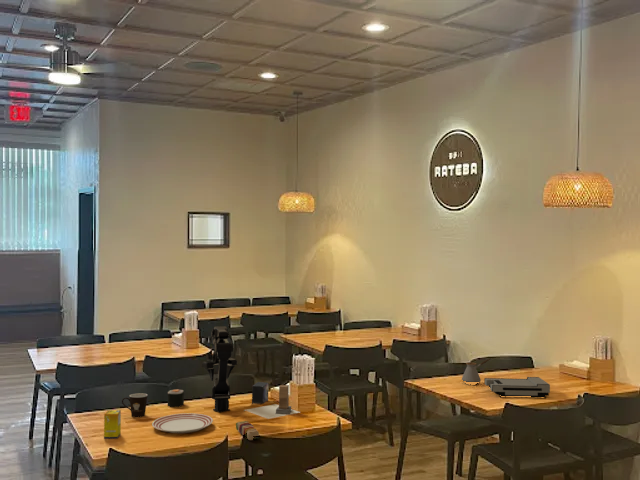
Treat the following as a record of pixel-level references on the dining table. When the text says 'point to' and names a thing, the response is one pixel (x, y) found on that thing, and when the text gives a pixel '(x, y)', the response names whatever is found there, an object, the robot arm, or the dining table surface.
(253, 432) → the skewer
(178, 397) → the sushi
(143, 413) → the coffee mug
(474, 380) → the coffee pot
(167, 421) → the dinner plate
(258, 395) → the small box
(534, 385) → the game console
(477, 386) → the dining table surface
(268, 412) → the board
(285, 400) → the block
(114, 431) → the supplement box
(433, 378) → the dining table surface
